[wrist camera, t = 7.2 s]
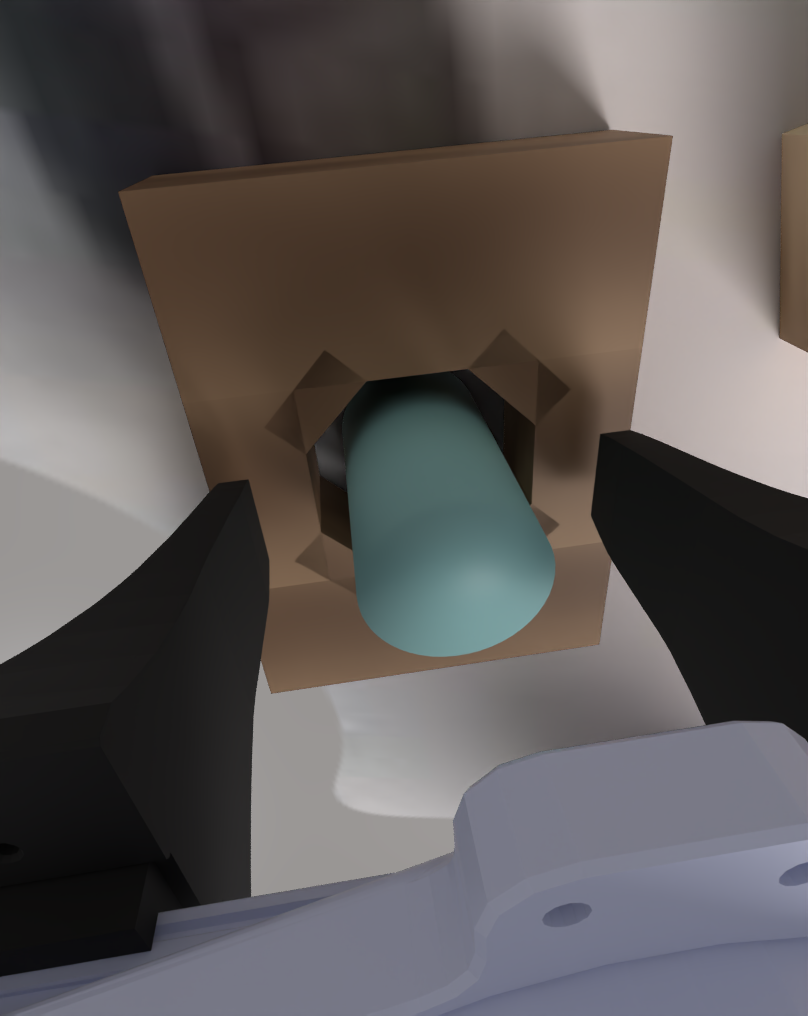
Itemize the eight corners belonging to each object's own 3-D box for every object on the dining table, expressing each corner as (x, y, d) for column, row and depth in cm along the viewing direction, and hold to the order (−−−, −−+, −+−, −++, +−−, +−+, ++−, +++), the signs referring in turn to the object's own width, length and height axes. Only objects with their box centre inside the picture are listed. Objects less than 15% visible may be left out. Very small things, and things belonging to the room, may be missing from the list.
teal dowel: (483, 470, 16) (558, 635, 11) (358, 497, 16) (377, 673, 11) (469, 349, 14) (552, 481, 9) (327, 378, 14) (335, 528, 9)
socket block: (567, 585, 19) (599, 644, 17) (275, 627, 18) (271, 693, 16) (611, 130, 12) (673, 135, 10) (152, 175, 12) (118, 191, 10)
